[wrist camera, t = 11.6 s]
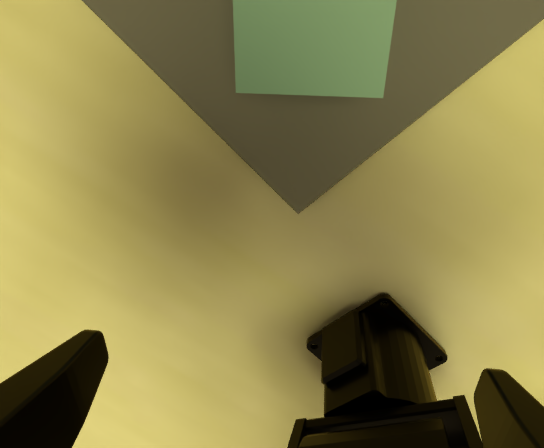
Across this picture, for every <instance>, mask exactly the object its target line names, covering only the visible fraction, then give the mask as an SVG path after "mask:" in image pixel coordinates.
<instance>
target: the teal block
mask: <svg viewBox="0 0 544 448" xmlns="http://www.w3.org/2000/svg"><path fill="white" fill-rule="evenodd" d="M396 2H397V0H233V21H234V52H235V82H236V93H253V94H282V95H310V96H339V97H367V98H383V95H384V88H385V81H386V73H387V66H388V59H389V52H390V45H391V38H392V30H393V23H394V16H395V9H396Z"/></svg>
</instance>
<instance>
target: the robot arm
mask: <svg viewBox="0 0 544 448" xmlns="http://www.w3.org/2000/svg"><path fill="white" fill-rule="evenodd" d="M384 301H385V302H387V303H385V304H382V303H381V302H384ZM313 344H317V345H313ZM307 349H308V350H309V351H310V352H311V353H313V354H314V355H315V356H316V357H317V358H318V359H320V360H321V361H322V371H321V382H322V383H323V384H324V417H323V418H316V419H309V420H307V419H306V418H303V419H296V421H295V424H294V428H293V431H292V434H291V437H290V440H289V444H288V447H287V448H544V406H542V405H541V404H540V403H539V402H538V401H537V400H536V399H535V398H534V397H533V396H532V395H531V394H530V393H529V392H528V391H526V390H525V389H524V388H523V387H522V386H521V385H520V384H519V383H518V382H517V381H516V380H515V379H514V378H513V377H511V376H510V375H509V374H508V373H507V372H506V371H504V370H500V369H489V368H486V369H484V370H483V371H482V373H481V376H480V379H479V381H478V384H477V387H476V390H475V393H474V404H475V409H476V414H477V419H478V424H479V429H480V434H481V438H482V441H481V438H480V436H479V433H478V430H477V428H476V425H475V422H474V420H473V417H472V414H471V412H470V409H469V406H468V404H467V401H466V398H465V396H464V395H460V396H453V399H447V400H440V401H437V399H436V395H435V392H434V388H433V384H432V381H431V377H430V373H429V370H431V369H433V368H435V367H437V366H439V365H441V364H443V363H445V362H446V361H447V354H446V352H445V350H444V349H443V348H442V347H441V346H440V345H439V344H438V343H437V342H436V341H435V340H434V339H433V338H432V337H431V336H430V335H429V334H428V333H427V332H426V331H425V330H424V329H423V328H422V327H421V326H420V325H419V324H418V323H417V322H416V321H415V320H414V319H413V318H412V317H411V316H410V315H409V314H408V313H407V312H406V311H405V310H404V309H403V308H402V307H401V306H400V305H399V304H398V303H397V302H396V301H395V300H394V299H393V298H392V297H391V296H389V295H388V294H380V295H378V296H376V297H375V298H373V299H372V300H370V301H368V302H367V303H365V304H363V305H362V306H360V307H358V308H357V309H355V310H352V311H350V312H349V313H347V314H346V315H344V316H342V317H341V318H339V319H337V320H336V321H334V322H333V323H331V324H329V325H328V326H326V327H324V328H323V329H322V330H321V331H319V332H318V333H316V334H314V335H313V336H311V337H309V338H308V339H307ZM437 356H438V357H437ZM107 363H108V351H107V347H106V343H105V339H104V336H103V333H102V332H101V331H97V330H83V331H81V332H80V333H78V334H77V335H75V336H73V337H72V338H70V339H69V340H67V341H66V342H64V343H63V344H61V345H59V346H58V347H56V348H55V349H53V350H52V351H50V352H49V353H47V354H45V355H44V356H42V357H41V358H39V359H38V360H36V361H34V362H33V363H31V364H30V365H28V366H27V367H25V368H24V369H22V370H20V371H19V372H17V373H16V374H14V375H13V376H11V377H10V378H8V379H6V380H5V381H3V382H2V383H0V448H72V446H73V444H74V442H75V440H76V438H77V436H78V434H79V432H80V430H81V428H82V426H83V424H84V422H85V419H86V417H87V415H88V412H89V410H90V407H91V405H92V402H93V400H94V397H95V394H96V392H97V389H98V387H99V384H100V382H101V379H102V377H103V374H104V371H105V369H106V366H107Z"/></svg>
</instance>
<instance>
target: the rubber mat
mask: <svg viewBox="0 0 544 448" xmlns="http://www.w3.org/2000/svg"><path fill="white" fill-rule="evenodd" d="M82 1H83V2H84V3H85V4H86V5H87V6H88V7H89V8H90V9H91V10H92V11H93V12H94V13H95V14H96V15H97V16H98V17H99V18H100V19H101V20H102V21H103V22H104V23H105V24H106V25H107V26H108V27H109V28H110V29H111V30H112V31H113V32H114V33H115V34H116V35H117V36H118V37H119V38H121V39H122V40H123V41H124V42H125V43H126V44H127V45H128V46H129V47H130V48H131V49H132V50H133V51H134V52H135V53H136V54H137V55H138V56H139V57H140V58H141V59H142V60H143V61H144V62H145V63H146V64H147V65H148V66H149V67H150V68H151V69H152V70H153V71H154V72H155V73H156V74H157V75H158V76H159V77H160V78H161V79H162V80H163V81H164V82H165V83H166V84H167V85H168V86H169V87H170V88H171V89H172V90H173V91H174V92H175V93H176V94H177V95H178V96H179V97H180V98H181V99H182V100H183V101H184V102H185V103H186V104H187V105H188V106H189V107H190V108H191V109H192V110H193V111H194V112H195V113H196V114H197V115H198V116H199V117H200V118H201V119H202V120H203V121H205V122H206V123H207V124H208V125H209V126H210V127H211V128H212V129H213V130H214V131H215V132H216V133H217V134H218V135H219V136H220V137H221V138H222V139H223V140H224V141H225V142H226V143H227V144H228V145H229V146H230V147H231V148H232V149H233V150H234V151H235V152H236V153H237V154H238V155H239V156H240V157H241V158H242V159H243V160H244V161H245V162H246V163H247V164H248V165H249V166H250V167H251V168H252V169H253V170H254V171H255V172H256V173H257V174H258V175H259V176H260V177H261V178H262V179H263V180H264V181H265V182H266V183H267V184H268V185H269V186H270V187H271V188H272V189H273V190H274V191H275V192H276V193H277V194H278V195H279V196H280V197H281V198H282V199H283V200H284V201H285V202H286V203H287V204H288V205H290V206H291V207H292V208H293V209H294V210H295V211H296V212H297V213H298V214H299V213H300V212H301V211H303V210H304V209H305V208H306V207H308V206H309V205H310V204H311V203H313V202H314V201H315V200H316V199H318V198H319V197H320V196H321V195H323V194H324V193H325V192H326V191H328V190H329V189H330V188H332V187H333V186H334V185H335V184H337V183H338V182H339V181H340V180H342V179H343V178H344V177H345V176H347V175H348V174H349V173H350V172H352V171H353V170H354V169H355V168H357V167H358V166H359V165H360V164H362V163H363V162H364V161H365V160H367V159H368V158H369V157H371V156H372V155H373V154H374V153H376V152H377V151H378V150H379V149H381V148H382V147H383V146H384V145H386V144H387V143H388V142H389V141H391V140H392V139H393V138H394V137H396V136H397V135H398V134H399V133H401V132H402V131H403V130H405V129H406V128H407V127H408V126H410V125H411V124H412V123H413V122H415V121H416V120H417V119H418V118H420V117H421V116H422V115H423V114H425V113H426V112H427V111H428V110H430V109H431V108H432V107H433V106H435V105H436V104H437V103H438V102H440V101H441V100H442V99H444V98H445V97H446V96H447V95H449V94H450V93H451V92H452V91H454V90H455V89H456V88H457V87H459V86H460V85H461V84H462V83H464V82H465V81H466V80H467V79H469V78H470V77H471V76H472V75H474V74H475V73H476V72H478V71H479V70H480V69H481V68H483V67H484V66H485V65H486V64H488V63H489V62H490V61H491V60H493V59H494V58H495V57H496V56H498V55H499V54H500V53H501V52H503V51H504V50H505V49H506V48H508V47H509V46H510V45H512V44H513V43H514V42H515V41H517V40H518V39H519V38H520V37H522V36H523V35H524V34H525V33H527V32H528V31H529V30H530V29H532V28H533V27H534V26H535V25H537V24H538V23H539V22H540V21H542V20H543V19H544V0H397V2H396V9H395V16H394V23H393V30H392V38H391V45H390V52H389V59H388V66H387V73H386V81H385V88H384V95H383V98H367V97H339V96H310V95H282V94H253V93H236V82H235V52H234V21H233V0H82Z"/></svg>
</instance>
